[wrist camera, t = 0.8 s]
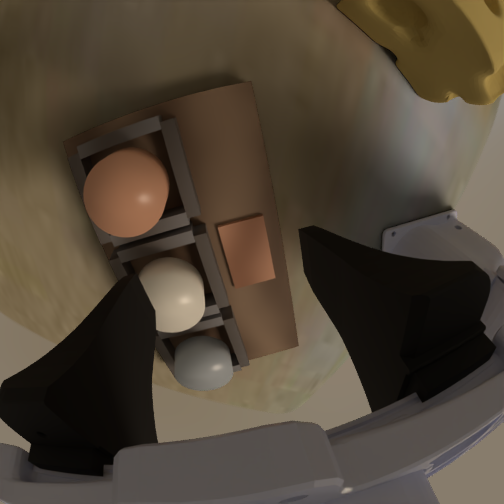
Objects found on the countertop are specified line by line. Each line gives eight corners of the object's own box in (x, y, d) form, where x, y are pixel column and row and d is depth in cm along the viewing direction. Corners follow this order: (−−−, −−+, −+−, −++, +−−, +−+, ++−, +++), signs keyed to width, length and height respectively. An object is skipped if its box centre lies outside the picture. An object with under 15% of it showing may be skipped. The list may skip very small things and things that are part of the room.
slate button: (221, 330, 21) (224, 349, 19) (235, 365, 23) (239, 383, 22) (166, 343, 21) (165, 362, 19) (186, 376, 23) (186, 394, 21)
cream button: (191, 249, 18) (191, 266, 16) (211, 304, 20) (213, 323, 18) (126, 267, 17) (120, 285, 16) (152, 318, 20) (150, 338, 18)
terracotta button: (156, 136, 14) (151, 141, 12) (179, 210, 16) (177, 224, 15) (85, 163, 14) (71, 171, 12) (110, 231, 16) (102, 246, 14)
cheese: (419, 101, 18) (519, 122, 10) (323, 3, 14) (412, -44, 5) (463, 35, 15) (547, 39, 7) (385, -53, 11) (465, -86, 2)
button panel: (247, 82, 16) (256, 78, 14) (294, 334, 27) (303, 357, 25) (72, 138, 16) (52, 145, 13) (174, 364, 27) (174, 388, 24)
